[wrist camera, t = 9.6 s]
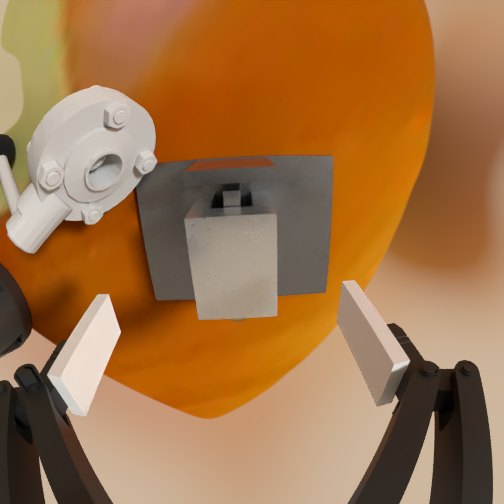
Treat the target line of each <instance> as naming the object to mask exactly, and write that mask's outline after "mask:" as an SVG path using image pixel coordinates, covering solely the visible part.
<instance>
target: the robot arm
mask: <svg viewBox="0 0 504 504" xmlns="http://www.w3.org/2000/svg"><path fill="white" fill-rule="evenodd" d="M337 323H338V325H339V327H340V329H341V331H342V333H343V335H344V337H345V339H346V341H347V343H348V345H349V347H350V349H351V352H352V354H353V356H354V357H355V360H356V362H357V364H358V366H359V368H360V371H361V372H362V375H363V377H364V379H365V381H366V383H367V385H368V388H369V390H370V392H371V394H372V397H373V399H374V401H375V403H376V406H380V405H384V404H387V403H391V402H392V401H393V398H394V396H395V394H396V396H397V398H398V400H399V401H398V403H397V405H396V407H395V409H394V411H393V413H392V414H393V415H392V418H391V420H390V423H389V425H388V427H387V430H386V432H385V434H384V436H383V438H382V441H381V443H380V445H379V447H378V449H377V451H376V453H375V455H374V457H373V459H372V461H371V463H370V465H369V467H368V469H367V471H366V473H365V475H364V476H363V478H362V480H361V482H360V484H359V485H358V487H357V489H356V491H355V492H354V494H353V496H352V497H351V499H350V501H349V502H348V504H399V503H400V501H401V499H402V497H403V495H404V492H405V490H406V488H407V485H408V483H409V481H410V478H411V476H412V473H413V471H414V468H415V465H416V463H417V460H418V457H419V454H420V452H421V449H422V446H423V443H424V440H425V436H426V433H427V430H428V426H429V423H430V419H431V416H432V412H433V411H434V412H435V440H434V441H435V442H434V464H433V478H432V487H431V496H430V503H429V504H492V501H493V470H492V469H493V468H492V451H491V439H490V430H489V423H488V416H487V410H486V403H485V397H484V392H483V387H482V382H481V377H480V373H479V370H478V368H477V366H476V365H475V364H474V363H472V362H470V361H466V360H463V361H459V362H458V363H457V364H456V366H455V368H454V369H439V367H438V366H437V365H436V364H435V363H433V362H430V361H425V360H424V359H423V358H422V356H421V355H420V353H419V352H418V350H417V349H416V347H415V346H414V345H413V343H412V342H411V341H410V339H409V338H408V337H407V335H406V333H405V332H404V331H403V329H402V328H400V327H399V326H398V325H396V324H394V323H392V324H387V325H386V324H385V322H384V321H383V319H382V318H381V316H380V315H379V313H378V312H377V311H376V309H375V308H374V306H373V305H372V303H371V302H370V301H369V299H368V298H367V296H366V295H365V294H364V292H363V291H362V290H361V288H360V287H359V285H358V284H357V283H356V281H355V280H352V281H342V287H341V295H340V302H339V310H338V316H337ZM31 330H32V320H31V314H30V311H29V307H28V305H27V302H26V300H25V297H24V295H23V293H22V291H21V290H20V288H19V286H18V285H17V283H16V281H15V280H14V279H13V277H12V276H11V275H10V273H9V272H8V271H7V270H6V269H5V268H4V267H3V266H2V265H1V264H0V358H1V357H3V356H5V355H6V354H8V353H10V352H12V351H13V350H15V349H17V348H19V347H20V346H21V345H22V344H23V343H24V342H25V341H26V339H27V338H28V337H29V335H30V333H31ZM120 334H121V331H120V328H119V325H118V322H117V319H116V316H115V313H114V310H113V306H112V303H111V300H110V297H109V294H98V295H97V296H96V297H95V299H94V300H93V302H92V303H91V305H90V306H89V308H88V309H87V311H86V312H85V314H84V315H83V317H82V318H81V320H80V321H79V323H78V324H77V326H76V327H75V329H74V331H73V332H72V334H71V335H70V337H69V338H68V340H63V341H62V342H61V343H60V344H58V345H57V347H56V348H55V350H54V351H53V354H51V356H50V359H49V360H48V361H47V363H46V364H45V366H44V368H43V369H42V371H41V373H40V374H39V372H38V370H37V369H36V367H35V366H34V365H33V364H25V365H22V366H21V367H19V368H18V369H17V370H16V372H15V374H14V379H15V381H16V382H17V383H18V385H19V387H15V388H13V387H12V385H11V384H10V382H9V381H7V380H2V381H0V504H45V499H44V493H43V487H42V480H41V473H40V464H39V457H40V460H41V463H42V465H43V468H44V471H45V474H46V476H47V479H48V481H49V484H50V486H51V489H52V491H53V493H54V496H55V498H56V500H57V502H58V504H113V503H112V501H111V499H110V498H109V497H108V495H107V493H106V491H105V490H104V488H103V486H102V485H101V483H100V481H99V479H98V478H97V476H96V474H95V472H94V470H93V468H92V467H91V465H90V463H89V461H88V459H87V457H86V455H85V453H84V451H83V449H82V447H81V445H80V442H79V440H78V438H77V436H76V434H75V431H74V429H73V427H72V424H71V422H70V419H69V417H68V416H67V414H66V413H65V412H66V410H67V408H69V409H70V410H71V412H72V413H73V414H74V415H79V416H84V417H86V415H87V413H88V410H89V407H90V405H91V402H92V400H93V397H94V395H95V392H96V389H97V387H98V384H99V382H100V380H101V377H102V375H103V372H104V370H105V368H106V365H107V363H108V361H109V358H110V356H111V354H112V351H113V349H114V347H115V345H116V342H117V340H118V338H119V336H120Z"/></svg>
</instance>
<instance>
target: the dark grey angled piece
mask: <svg viewBox="0 0 504 504" xmlns="http://www.w3.org/2000/svg"><path fill="white" fill-rule="evenodd" d="M332 188H333V156H328V155H270V156H242V157H224V158H209V159H196V160H185V161H175V162H166V163H157V164H156V165H155V167H154V169H153V170H152V171H151V172H149V173H147V174H144V175H143V177H142V178H141V180H140V181H139V183H138V184H137V185H136V190H137V198H138V205H139V212H140V219H141V225H142V231H143V237H144V243H145V249H146V254H147V259H148V264H149V269H150V274H151V279H152V284H153V289H154V293H155V298H156V300H195V293H194V287H193V281H192V274H191V267H190V260H189V253H188V245H187V237H186V229H185V221H184V219H185V217H186V215H187V214H188V212H189V210H190V209H191V207H192V206H193V204H194V203H195V201H196V199H197V198H198V196H199V195H201V194H215V200H216V208H229V207H247V206H252V202H251V191H267V192H268V195H269V197H270V199H271V202H272V204H273V206H274V208H275V211H276V213H277V296H283V295H298V294H312V293H325V292H326V285H327V274H328V262H329V249H330V233H331V214H332Z"/></svg>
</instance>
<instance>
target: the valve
mask: <svg viewBox="0 0 504 504" xmlns="http://www.w3.org/2000/svg"><path fill="white" fill-rule="evenodd" d="M155 140H156V135H155V127H154V124H153V121H152V119H151V117H150V115H149V114H148V112H147V111H146V110H145V109H144V108H143V107H141V106H140V105H138V104H137V103H136V102H134V101H133V100H131V99H130V98H128V97H127V96H126V95H124V94H122V93H121V92H119V91H117V90H114V89H110V88H107V87H101V86H99V85H94V86H92V87H90V88H88V89H83V90H81V91H78V92H76V93H73V94H71V95H69V96H67V97H66V98H65V99H63V100H62V101H61V102H59V103H58V104H57V105H55V106H54V107H53V108H52V109H51V110H50V111H49V112H48V113H47V114H46V115H45V116H44V118H43V119H42V121H41V122H40V124H39V125H38V127H37V129H36V130H35V132H34V134H33V136H32V140H31V141H30V142H29V144H28V145H27V148H26V152H27V155H28V157H27V166H28V173H29V176H30V179H31V183H30V185H29V186H28V187H27V188H26V189H25V190H24V192H23V193H22V194H21V195H20V193H19V190H18V188H17V185H16V182H15V180H14V177H13V174H12V171H11V168H10V164H11V163H12V161H13V159H14V156H15V145H14V142H13V140H12V139H11V138H10V137H9V136H8V135H3V134H0V180H1V184H2V187H3V190H4V193H5V196H6V199H7V202H8V205H9V208H10V211H11V214H12V216H11V217H10V219H9V220H8V221H7V223H6V228H7V231H8V234H7V235H8V236H9V238H10V239H11V240H12V242H13V243H14V244H15V245H16V246H18V247H19V248H20V249H22V250H23V251H24V252H27V253H35V252H36V251H37V250H38V249H39V248H40V246H41V245H42V244H43V243H44V242H45V240H46V239H47V238H48V237H49V236H50V235H51V233H52V232H53V231H54V230H55V229H56V228H57V226H58V225H59V224H60V223H61V222H62V221H63V220H70V221H81V220H83V221H84V222H85V224H95V223H97V222H98V221H99V220H100V219H101V217H102V216H103V213H104V212H106V211H108V210H110V209H111V208H113V207H114V206H116V205H117V204H118V203H119V202H121V201H122V200H123V199H124V198H125V197H126V196H127V195H128V194H129V193H130V192H131V191H132V190H133V189H134V188H135V187H136V185H137V184H138V183H139V181H140V180H141V178H142V177H143V175H144V174H147V173H149V172H151V171H152V170H153V169H154V167H155V165H156V163H157V159H156V158H155V156H154V154H153V152H154V148H155Z"/></svg>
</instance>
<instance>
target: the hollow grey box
mask: <svg viewBox="0 0 504 504" xmlns="http://www.w3.org/2000/svg"><path fill="white" fill-rule="evenodd" d="M251 202H252V206H247V207H229V208H216V200H215V194H201V195H199V196H198V198H197V199H196V201H195V203H194V204H193V206H192V207H191V209H190V210H189V212H188V214H187V215H186V217H185V219H184V221H185V229H186V237H187V245H188V253H189V260H190V267H191V274H192V281H193V287H194V293H195V300H196V306H197V312H198V318H199V320H208V319H231V320H233V321H242V320H245V319H246V318H255V317H271V316H277V213H276V211H275V208H274V206H273V204H272V202H271V199H270V197H269V195H268V192H267V191H251Z"/></svg>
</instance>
